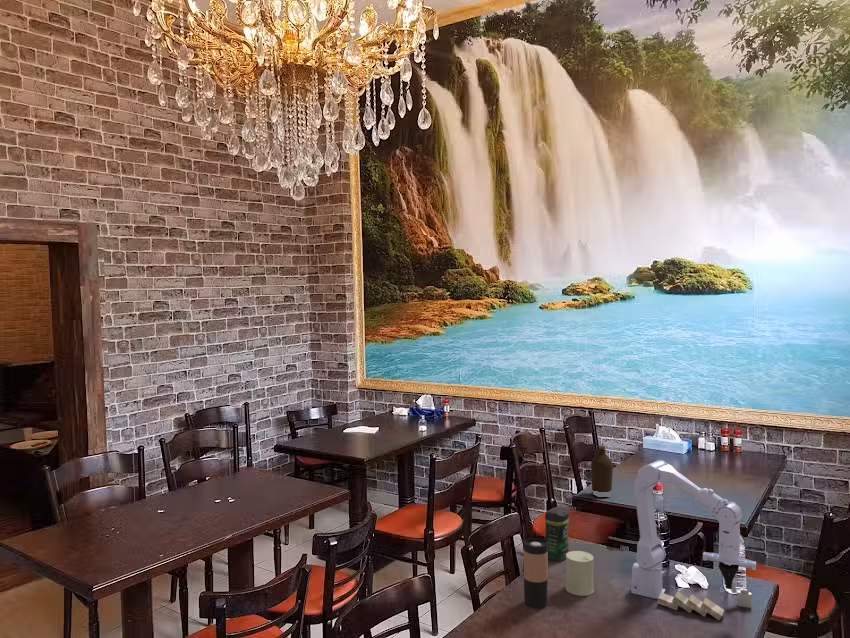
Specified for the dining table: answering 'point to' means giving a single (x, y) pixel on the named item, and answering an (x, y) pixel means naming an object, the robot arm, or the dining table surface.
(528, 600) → the travel mug
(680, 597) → the domino
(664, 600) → the domino
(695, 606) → the domino
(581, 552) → the can
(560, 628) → the dining table surface
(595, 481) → the olive oil
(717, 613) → the domino
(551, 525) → the coffee jar
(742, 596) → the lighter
